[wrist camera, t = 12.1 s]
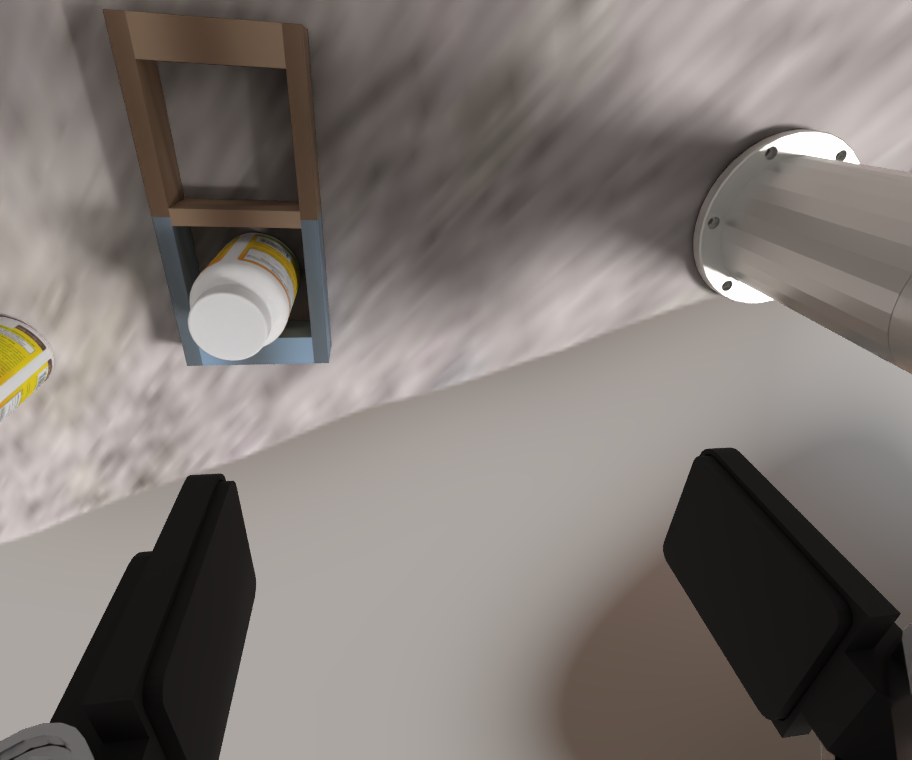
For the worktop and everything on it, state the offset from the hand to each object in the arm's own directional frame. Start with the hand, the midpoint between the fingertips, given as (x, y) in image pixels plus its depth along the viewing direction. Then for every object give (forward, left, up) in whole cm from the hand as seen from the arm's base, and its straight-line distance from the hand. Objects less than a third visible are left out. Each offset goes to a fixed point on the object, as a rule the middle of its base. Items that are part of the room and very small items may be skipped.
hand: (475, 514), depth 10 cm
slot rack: (+10, 0, -28) cm, 30 cm away
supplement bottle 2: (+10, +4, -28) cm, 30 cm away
